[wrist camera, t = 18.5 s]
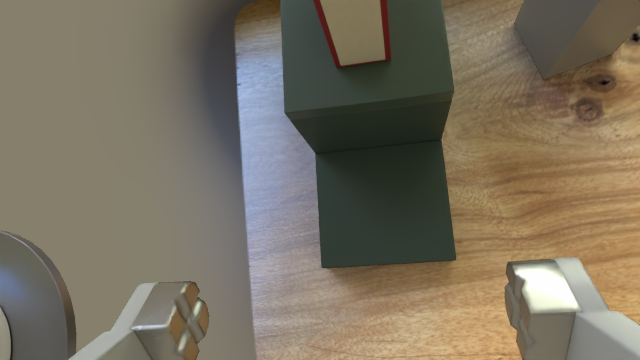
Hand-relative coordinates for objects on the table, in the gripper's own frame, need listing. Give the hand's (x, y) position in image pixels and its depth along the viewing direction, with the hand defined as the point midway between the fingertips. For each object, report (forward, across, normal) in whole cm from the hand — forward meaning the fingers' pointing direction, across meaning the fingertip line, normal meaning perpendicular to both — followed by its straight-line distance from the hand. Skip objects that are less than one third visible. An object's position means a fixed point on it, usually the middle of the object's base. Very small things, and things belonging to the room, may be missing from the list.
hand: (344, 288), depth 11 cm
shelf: (+32, 0, +12) cm, 34 cm away
